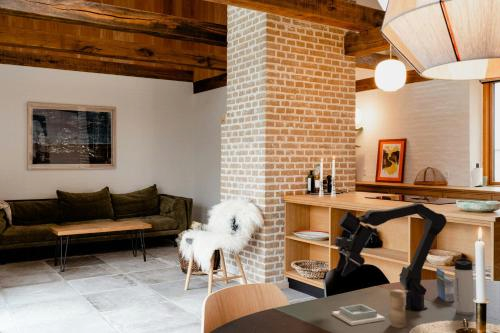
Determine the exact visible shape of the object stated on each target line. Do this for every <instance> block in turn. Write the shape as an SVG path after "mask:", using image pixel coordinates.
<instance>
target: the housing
mask: <svg viewBox="0 0 500 333" xmlns="http://www.w3.org/2000/svg"><path fill="white" fill-rule="evenodd" d="M338 308H339V310H337V311H332V314H331V315H333V316H334V317H336V318H338V319H340V320H341V321H344V322H345V323H346V324H349V325H350V326H357V325H363V324H368V323H374V322H382V321H386V317H385V316H383V315H381V314H379V313H378V311H377V310H375V309H374V308H372V307H369V306H367V305H365V304H362V303H361V304H359V303H358V304H352V305H346V306H339V307H338Z"/></svg>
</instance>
